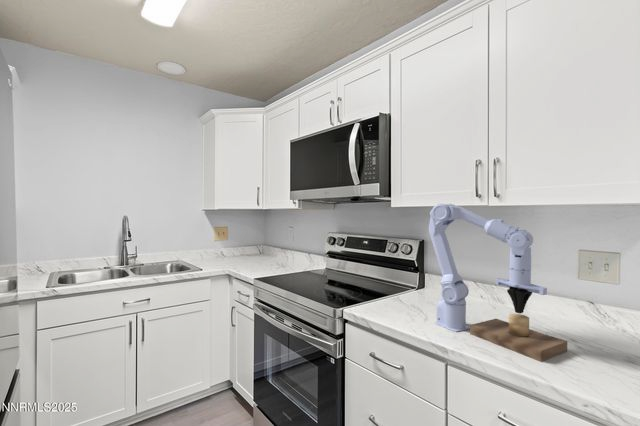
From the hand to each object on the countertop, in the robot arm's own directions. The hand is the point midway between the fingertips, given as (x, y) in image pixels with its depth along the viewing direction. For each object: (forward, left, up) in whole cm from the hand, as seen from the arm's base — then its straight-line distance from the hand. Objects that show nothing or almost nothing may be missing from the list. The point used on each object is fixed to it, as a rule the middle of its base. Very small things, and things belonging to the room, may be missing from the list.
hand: (519, 312), depth 100 cm
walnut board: (-1, 0, -10) cm, 10 cm away
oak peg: (0, 0, -9) cm, 9 cm away
